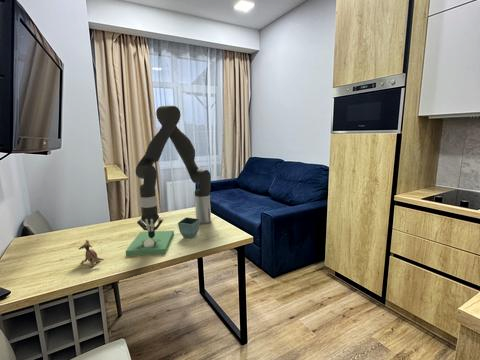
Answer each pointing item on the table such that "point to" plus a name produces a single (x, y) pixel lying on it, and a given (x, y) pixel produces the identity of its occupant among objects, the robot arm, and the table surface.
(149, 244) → the ball
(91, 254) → the dinosaur figurine
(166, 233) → the putting mat
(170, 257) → the table surface
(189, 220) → the flower pot
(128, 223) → the table surface
